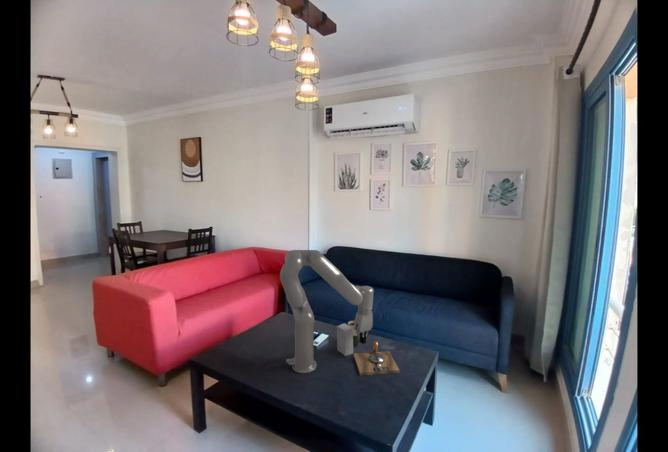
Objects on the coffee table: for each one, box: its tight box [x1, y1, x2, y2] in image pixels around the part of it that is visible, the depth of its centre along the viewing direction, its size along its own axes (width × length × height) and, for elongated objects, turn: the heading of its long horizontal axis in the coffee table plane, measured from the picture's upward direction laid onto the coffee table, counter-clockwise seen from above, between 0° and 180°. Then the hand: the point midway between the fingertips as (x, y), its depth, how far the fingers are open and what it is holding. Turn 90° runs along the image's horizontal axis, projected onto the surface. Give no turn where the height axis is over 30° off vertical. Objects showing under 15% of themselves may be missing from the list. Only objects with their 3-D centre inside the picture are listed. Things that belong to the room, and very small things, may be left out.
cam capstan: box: [369, 340, 385, 368], centre depth 164 cm, size 18×8×6 cm, turn 179°
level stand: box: [352, 350, 400, 377], centre depth 164 cm, size 20×18×2 cm
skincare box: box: [336, 323, 354, 357], centre depth 176 cm, size 8×6×15 cm
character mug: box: [347, 320, 360, 347], centre depth 184 cm, size 11×7×13 cm, turn 75°
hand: (362, 342), depth 168 cm, fingers closed
